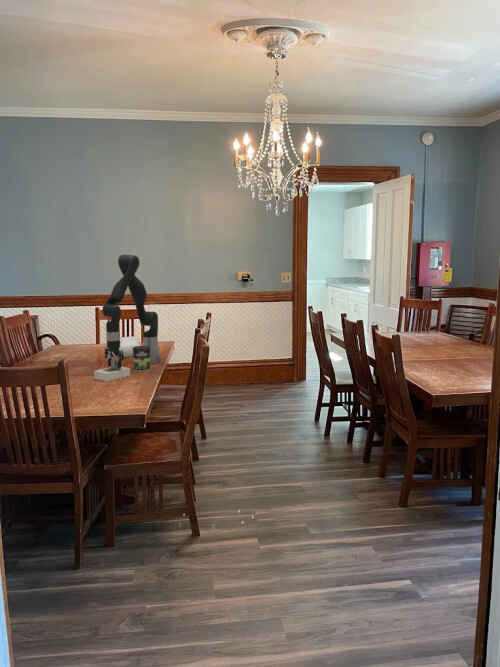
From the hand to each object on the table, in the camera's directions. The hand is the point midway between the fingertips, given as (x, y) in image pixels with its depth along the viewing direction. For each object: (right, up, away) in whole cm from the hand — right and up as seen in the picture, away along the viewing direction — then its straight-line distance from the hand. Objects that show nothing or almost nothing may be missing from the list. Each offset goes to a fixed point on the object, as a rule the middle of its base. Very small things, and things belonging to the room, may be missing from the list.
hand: (114, 367), depth 295 cm
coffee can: (+12, -3, +16) cm, 21 cm away
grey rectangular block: (-1, -5, -1) cm, 5 cm away
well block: (-1, -6, -1) cm, 6 cm away
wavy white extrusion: (-9, +5, +66) cm, 67 cm away
